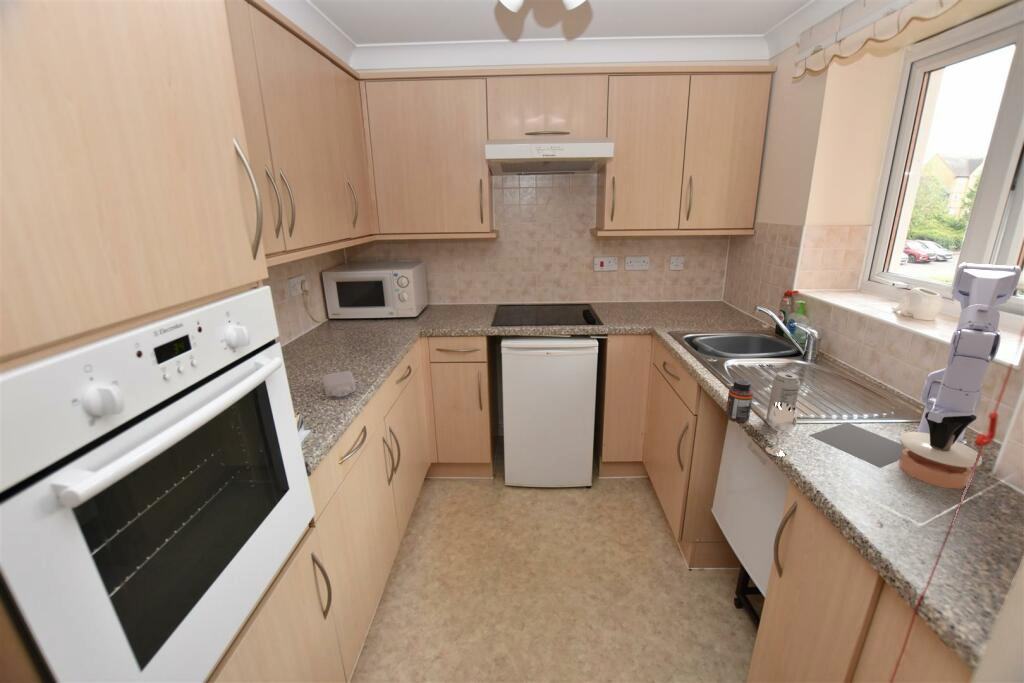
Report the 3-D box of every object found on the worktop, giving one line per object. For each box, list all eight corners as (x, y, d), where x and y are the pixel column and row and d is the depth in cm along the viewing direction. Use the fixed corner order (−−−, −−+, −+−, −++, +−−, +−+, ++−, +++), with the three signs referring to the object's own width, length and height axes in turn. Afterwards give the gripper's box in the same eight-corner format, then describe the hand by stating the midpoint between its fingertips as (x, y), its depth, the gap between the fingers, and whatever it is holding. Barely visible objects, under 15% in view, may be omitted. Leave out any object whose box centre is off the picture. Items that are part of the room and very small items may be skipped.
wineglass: (780, 444, 109) (788, 401, 106) (795, 457, 104) (804, 411, 100) (757, 445, 109) (765, 401, 105) (771, 458, 103) (780, 412, 100)
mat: (846, 424, 119) (846, 422, 119) (918, 452, 105) (919, 451, 105) (808, 436, 113) (809, 435, 112) (879, 469, 99) (880, 467, 99)
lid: (918, 429, 103) (923, 414, 102) (993, 458, 92) (1000, 440, 91) (887, 442, 98) (892, 425, 97) (963, 473, 87) (970, 455, 85)
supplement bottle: (723, 412, 126) (729, 376, 123) (746, 415, 124) (752, 378, 121) (726, 422, 121) (732, 384, 117) (750, 425, 119) (757, 386, 116)
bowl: (915, 456, 104) (919, 443, 103) (977, 481, 94) (982, 467, 93) (888, 467, 99) (892, 454, 98) (951, 495, 90) (956, 481, 89)
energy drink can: (782, 421, 121) (792, 370, 116) (795, 432, 115) (806, 379, 110) (760, 421, 121) (769, 370, 116) (772, 432, 115) (782, 379, 111)
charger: (327, 405, 134) (324, 388, 147) (359, 399, 138) (353, 382, 151) (325, 391, 133) (322, 374, 146) (357, 385, 137) (351, 370, 150)
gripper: (953, 374, 97) (936, 429, 101) (917, 385, 91) (900, 443, 95) (997, 385, 90) (977, 443, 95) (961, 398, 85) (941, 459, 89)
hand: (941, 444), depth 94 cm, fingers closed on lid, 3 cm apart
